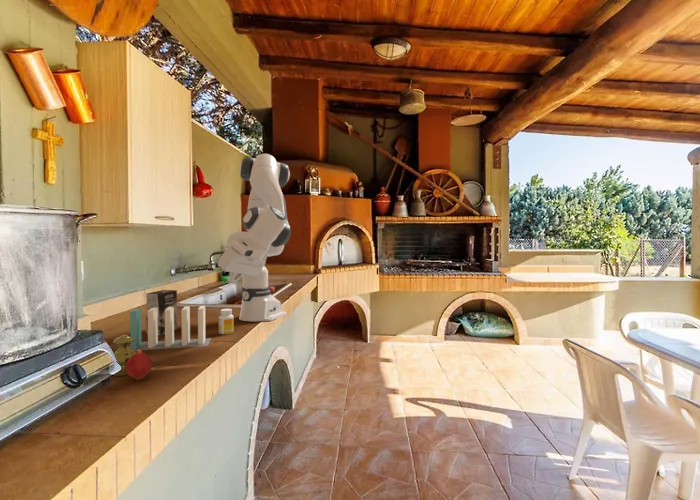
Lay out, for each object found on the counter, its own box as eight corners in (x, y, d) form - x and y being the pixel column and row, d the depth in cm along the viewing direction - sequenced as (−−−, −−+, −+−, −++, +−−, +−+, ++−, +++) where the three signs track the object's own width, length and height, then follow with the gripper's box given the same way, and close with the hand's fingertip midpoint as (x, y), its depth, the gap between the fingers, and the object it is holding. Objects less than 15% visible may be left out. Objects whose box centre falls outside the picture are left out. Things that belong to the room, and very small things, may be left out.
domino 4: (189, 340, 122) (189, 306, 122) (187, 345, 117) (186, 309, 117) (184, 341, 122) (184, 306, 121) (181, 345, 117) (181, 309, 116)
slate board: (211, 340, 126) (211, 338, 126) (207, 348, 117) (207, 345, 117) (132, 345, 120) (132, 342, 119) (122, 354, 111) (122, 351, 111)
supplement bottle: (215, 336, 131) (215, 310, 131) (223, 332, 137) (223, 307, 136) (229, 337, 131) (229, 311, 130) (236, 333, 136) (236, 308, 135)
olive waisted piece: (102, 377, 93) (102, 340, 93) (115, 367, 100) (115, 332, 100) (133, 376, 95) (133, 338, 94) (144, 365, 102) (143, 331, 101)
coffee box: (161, 337, 129) (160, 293, 128) (145, 336, 130) (145, 292, 129) (178, 331, 138) (177, 289, 137) (163, 330, 139) (163, 289, 138)
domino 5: (205, 339, 124) (205, 305, 123) (203, 344, 119) (203, 308, 118) (200, 340, 123) (200, 305, 123) (198, 344, 118) (197, 309, 118)
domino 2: (157, 342, 120) (157, 307, 119) (153, 347, 115) (153, 310, 114) (152, 343, 119) (152, 307, 119) (148, 347, 114) (147, 311, 114)
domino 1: (141, 343, 118) (140, 308, 118) (136, 348, 113) (135, 311, 113) (136, 343, 118) (135, 308, 118) (130, 348, 113) (130, 311, 113)
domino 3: (174, 341, 121) (173, 306, 120) (170, 346, 116) (170, 310, 115) (168, 342, 121) (168, 307, 120) (165, 346, 116) (164, 310, 115)
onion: (126, 377, 93) (126, 347, 93) (151, 373, 96) (151, 344, 96) (125, 386, 88) (125, 354, 88) (152, 381, 91) (151, 351, 91)
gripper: (263, 249, 134) (242, 279, 134) (228, 239, 115) (205, 274, 115) (274, 259, 131) (253, 289, 132) (241, 249, 112) (217, 285, 113)
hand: (230, 282), depth 123 cm, fingers closed
